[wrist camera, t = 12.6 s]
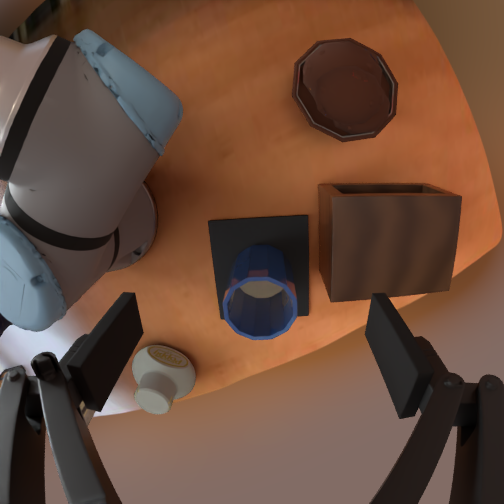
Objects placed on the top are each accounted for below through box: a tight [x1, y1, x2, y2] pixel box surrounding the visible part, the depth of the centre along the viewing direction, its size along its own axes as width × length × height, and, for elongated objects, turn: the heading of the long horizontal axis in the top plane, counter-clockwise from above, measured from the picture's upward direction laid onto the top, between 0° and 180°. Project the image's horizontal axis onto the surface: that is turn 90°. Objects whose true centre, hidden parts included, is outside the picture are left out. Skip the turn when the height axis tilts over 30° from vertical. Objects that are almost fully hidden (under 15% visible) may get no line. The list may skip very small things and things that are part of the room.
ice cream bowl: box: [292, 38, 398, 142], centre depth 28 cm, size 11×11×15 cm
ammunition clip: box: [0, 365, 26, 388], centre depth 51 cm, size 11×2×12 cm, turn 113°
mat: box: [208, 215, 309, 319], centre depth 43 cm, size 13×15×1 cm
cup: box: [223, 245, 297, 340], centre depth 38 cm, size 8×8×10 cm
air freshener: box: [132, 345, 196, 414], centre depth 45 cm, size 11×8×10 cm
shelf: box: [318, 183, 462, 302], centre depth 36 cm, size 16×12×9 cm
